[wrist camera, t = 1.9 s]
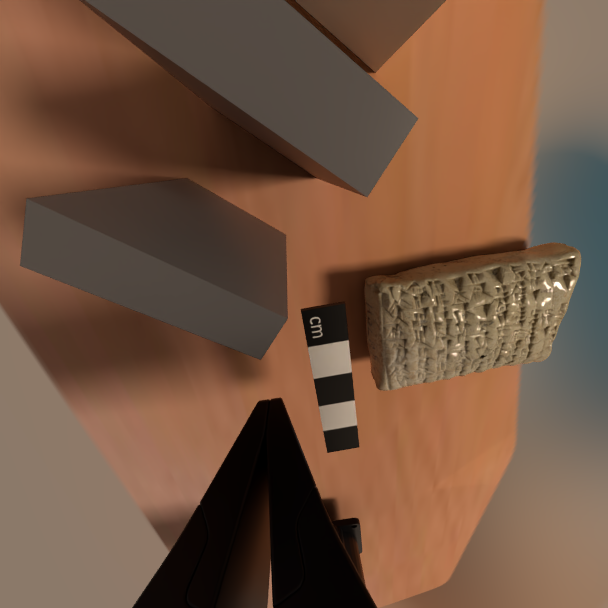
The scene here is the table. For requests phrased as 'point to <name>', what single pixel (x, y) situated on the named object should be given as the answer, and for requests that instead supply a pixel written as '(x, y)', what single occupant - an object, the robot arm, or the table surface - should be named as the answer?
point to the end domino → (372, 24)
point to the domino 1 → (272, 81)
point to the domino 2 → (166, 258)
